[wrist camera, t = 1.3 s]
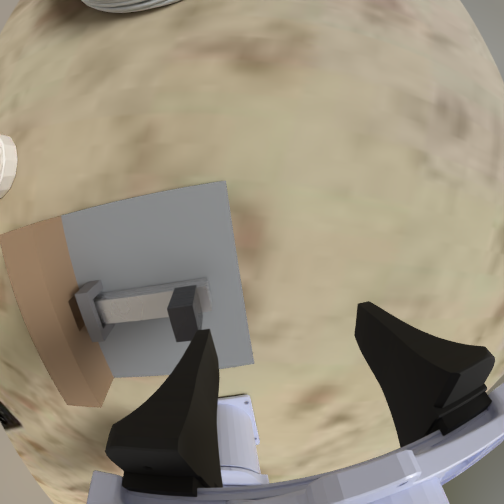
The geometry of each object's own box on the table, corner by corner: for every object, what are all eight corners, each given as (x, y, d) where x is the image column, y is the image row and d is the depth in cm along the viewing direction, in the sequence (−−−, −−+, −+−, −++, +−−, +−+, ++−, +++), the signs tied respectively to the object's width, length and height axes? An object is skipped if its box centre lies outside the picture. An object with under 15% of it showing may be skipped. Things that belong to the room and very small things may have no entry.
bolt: (206, 275, 21) (203, 303, 16) (212, 303, 22) (211, 338, 17) (93, 292, 20) (65, 320, 15) (101, 317, 21) (77, 349, 16)
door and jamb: (225, 180, 21) (227, 179, 16) (252, 354, 25) (261, 396, 20) (37, 222, 20) (-2, 235, 14) (87, 369, 24) (67, 404, 18)
